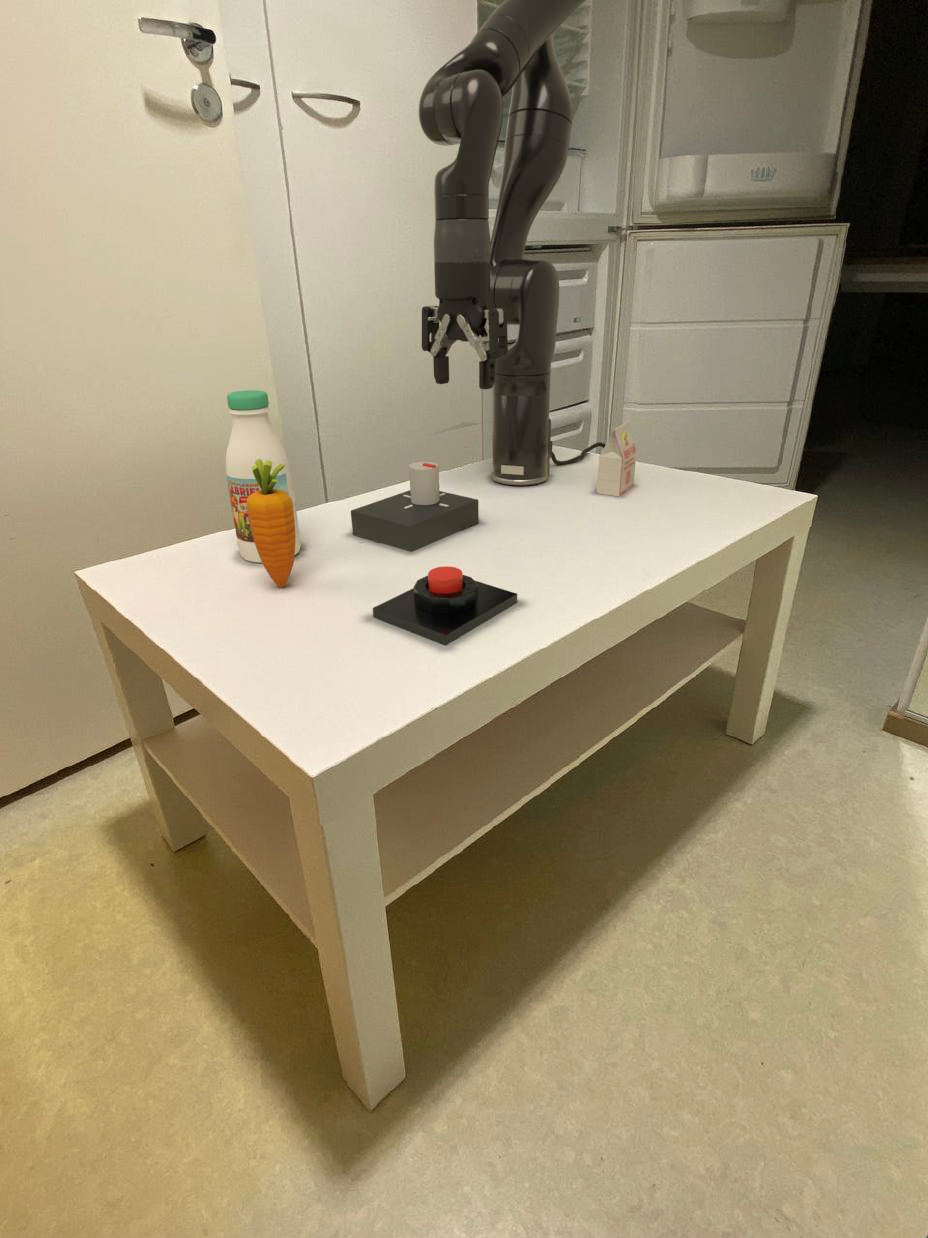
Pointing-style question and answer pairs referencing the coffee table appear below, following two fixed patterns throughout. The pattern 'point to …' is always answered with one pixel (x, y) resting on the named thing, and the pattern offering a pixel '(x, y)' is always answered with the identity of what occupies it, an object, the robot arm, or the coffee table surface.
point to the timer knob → (424, 483)
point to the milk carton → (617, 463)
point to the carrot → (272, 523)
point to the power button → (445, 580)
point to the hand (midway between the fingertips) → (463, 385)
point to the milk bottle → (253, 463)
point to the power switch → (444, 609)
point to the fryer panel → (414, 520)
